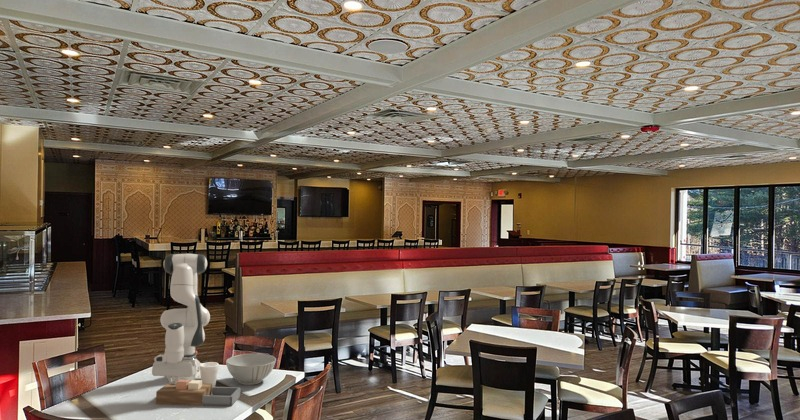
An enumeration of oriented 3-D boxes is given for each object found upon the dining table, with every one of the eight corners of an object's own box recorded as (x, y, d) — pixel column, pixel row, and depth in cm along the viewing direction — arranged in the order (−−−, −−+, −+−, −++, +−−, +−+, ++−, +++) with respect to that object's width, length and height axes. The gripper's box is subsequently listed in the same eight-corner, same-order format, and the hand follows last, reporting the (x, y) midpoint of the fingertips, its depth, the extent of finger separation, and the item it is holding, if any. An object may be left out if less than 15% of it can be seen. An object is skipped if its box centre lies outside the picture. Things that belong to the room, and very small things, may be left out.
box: (212, 395, 270) (213, 386, 270) (240, 396, 270) (240, 387, 270) (202, 405, 256) (202, 395, 256) (231, 406, 256) (231, 396, 256)
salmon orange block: (180, 385, 265) (180, 379, 265) (190, 386, 265) (190, 380, 265) (175, 388, 260) (176, 382, 260) (186, 389, 260) (186, 383, 260)
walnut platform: (168, 394, 270) (168, 382, 270) (211, 395, 270) (212, 383, 270) (155, 404, 256) (156, 391, 256) (201, 405, 256) (202, 392, 256)
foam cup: (198, 392, 274) (198, 367, 274) (199, 387, 282) (200, 362, 283) (217, 391, 276) (218, 366, 276) (218, 386, 285) (219, 361, 285)
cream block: (192, 386, 265) (192, 380, 265) (202, 386, 265) (202, 380, 265) (188, 389, 260) (188, 383, 260) (198, 389, 260) (198, 383, 260)
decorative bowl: (268, 390, 281) (268, 367, 281) (217, 388, 281) (218, 365, 281) (280, 375, 307) (281, 354, 308) (234, 373, 308) (235, 352, 308)
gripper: (197, 355, 266) (196, 383, 266) (156, 354, 266) (155, 382, 266) (192, 359, 260) (191, 387, 260) (150, 358, 260) (149, 386, 260)
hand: (173, 384), depth 263 cm, fingers closed
